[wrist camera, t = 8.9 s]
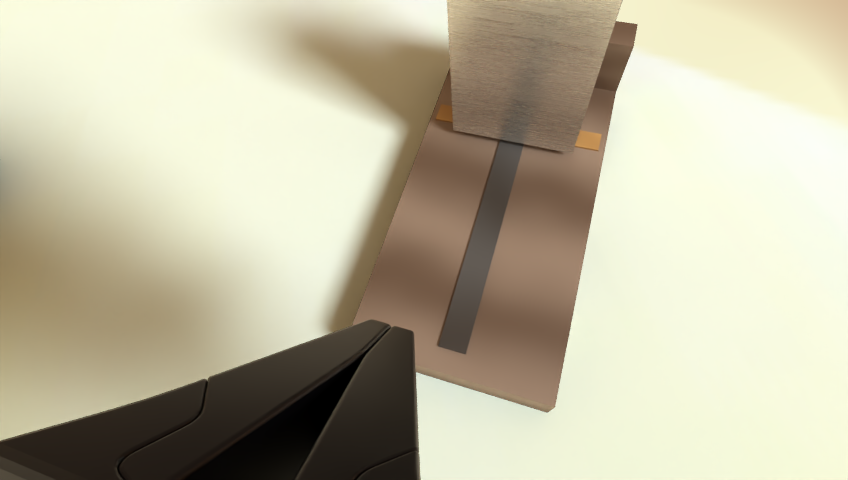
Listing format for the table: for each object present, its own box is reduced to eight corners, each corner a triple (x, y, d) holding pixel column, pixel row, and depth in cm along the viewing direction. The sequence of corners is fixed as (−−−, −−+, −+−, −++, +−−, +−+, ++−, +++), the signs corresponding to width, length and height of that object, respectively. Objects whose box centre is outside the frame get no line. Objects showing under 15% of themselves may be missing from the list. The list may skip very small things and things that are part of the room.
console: (547, 412, 21) (569, 396, 16) (355, 352, 23) (326, 324, 18) (610, 96, 28) (637, 24, 23) (459, 70, 30) (457, -1, 25)
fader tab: (582, 155, 23) (681, -117, 12) (443, 128, 25) (423, -138, 14) (593, 107, 24) (691, -180, 14) (459, 84, 26) (452, -193, 15)
